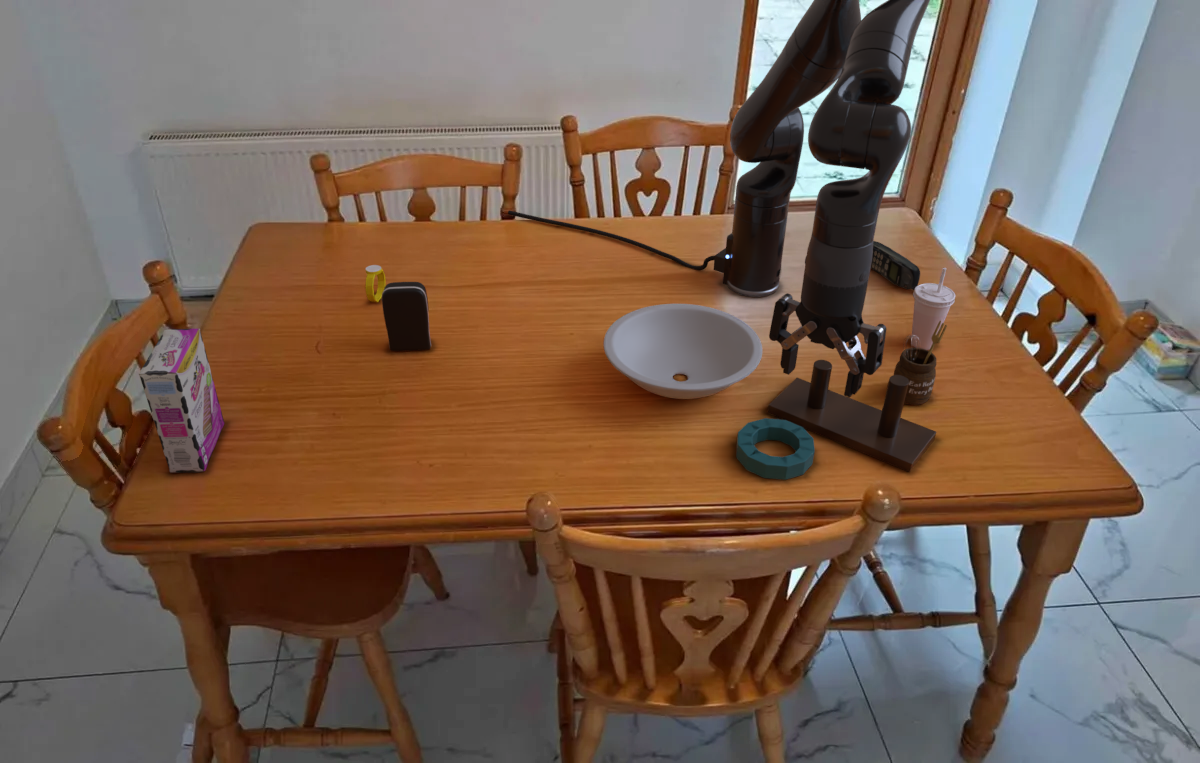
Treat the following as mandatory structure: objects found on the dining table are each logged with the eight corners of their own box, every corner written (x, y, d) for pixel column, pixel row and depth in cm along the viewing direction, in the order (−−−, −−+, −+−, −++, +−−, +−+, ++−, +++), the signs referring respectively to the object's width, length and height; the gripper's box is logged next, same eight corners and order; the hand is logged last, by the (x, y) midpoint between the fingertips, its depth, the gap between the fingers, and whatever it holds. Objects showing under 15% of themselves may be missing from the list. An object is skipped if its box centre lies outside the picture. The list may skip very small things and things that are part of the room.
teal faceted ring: (722, 459, 129) (723, 445, 127) (759, 422, 136) (761, 409, 134) (789, 489, 124) (791, 476, 122) (824, 450, 130) (827, 437, 129)
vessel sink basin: (628, 437, 133) (630, 400, 129) (586, 349, 151) (585, 314, 148) (783, 411, 138) (789, 374, 134) (723, 328, 157) (727, 294, 153)
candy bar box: (207, 473, 126) (176, 373, 116) (169, 474, 125) (135, 374, 116) (227, 422, 135) (200, 326, 125) (192, 424, 135) (162, 327, 125)
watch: (379, 307, 162) (374, 277, 158) (363, 306, 162) (359, 276, 159) (391, 290, 167) (386, 261, 163) (376, 289, 167) (371, 260, 164)
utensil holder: (881, 389, 143) (896, 322, 136) (914, 379, 145) (930, 313, 138) (906, 410, 138) (923, 342, 131) (940, 400, 140) (958, 332, 134)
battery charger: (433, 338, 154) (426, 277, 147) (431, 351, 151) (424, 289, 144) (391, 340, 153) (382, 278, 147) (388, 352, 150) (379, 290, 144)
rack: (767, 412, 138) (775, 353, 132) (795, 385, 143) (804, 327, 137) (909, 472, 127) (925, 410, 121) (934, 439, 133) (950, 379, 127)
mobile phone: (862, 240, 174) (918, 272, 163) (874, 237, 175) (932, 269, 164) (858, 264, 176) (913, 297, 165) (870, 260, 178) (926, 294, 166)
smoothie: (944, 356, 150) (964, 280, 142) (903, 351, 151) (921, 275, 143) (940, 335, 155) (959, 260, 147) (901, 331, 156) (918, 256, 148)
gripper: (906, 275, 109) (882, 388, 119) (797, 242, 117) (782, 351, 126) (881, 300, 105) (858, 416, 114) (768, 264, 112) (755, 376, 121)
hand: (818, 382), depth 120 cm, fingers open, 8 cm apart
